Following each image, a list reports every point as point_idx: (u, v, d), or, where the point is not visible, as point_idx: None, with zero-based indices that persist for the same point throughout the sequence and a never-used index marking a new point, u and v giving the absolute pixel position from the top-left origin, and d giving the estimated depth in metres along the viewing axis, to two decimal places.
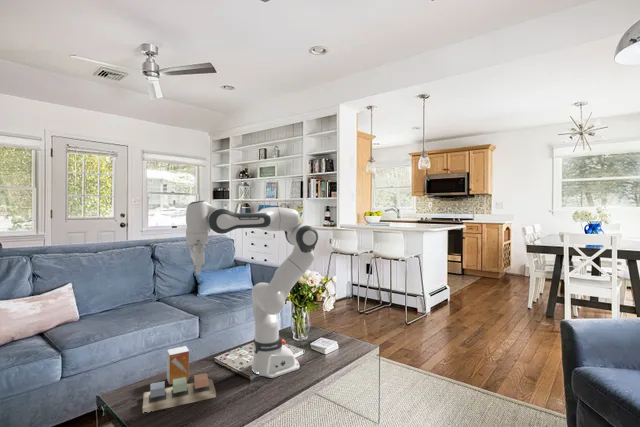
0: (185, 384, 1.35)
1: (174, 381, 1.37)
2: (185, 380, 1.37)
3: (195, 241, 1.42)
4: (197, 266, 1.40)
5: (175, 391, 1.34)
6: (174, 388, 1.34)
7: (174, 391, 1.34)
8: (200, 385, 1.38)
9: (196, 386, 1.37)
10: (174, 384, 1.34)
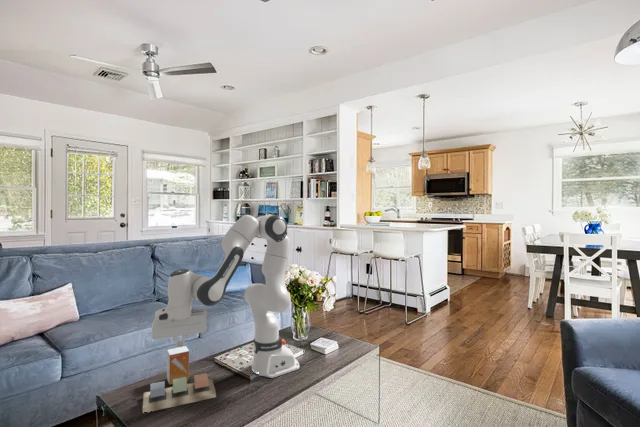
0: (185, 384, 1.35)
1: (174, 381, 1.37)
2: (185, 380, 1.37)
3: (191, 311, 1.37)
4: None
5: (175, 391, 1.34)
6: (174, 388, 1.34)
7: (174, 391, 1.34)
8: (200, 385, 1.38)
9: (196, 386, 1.37)
10: (174, 384, 1.34)
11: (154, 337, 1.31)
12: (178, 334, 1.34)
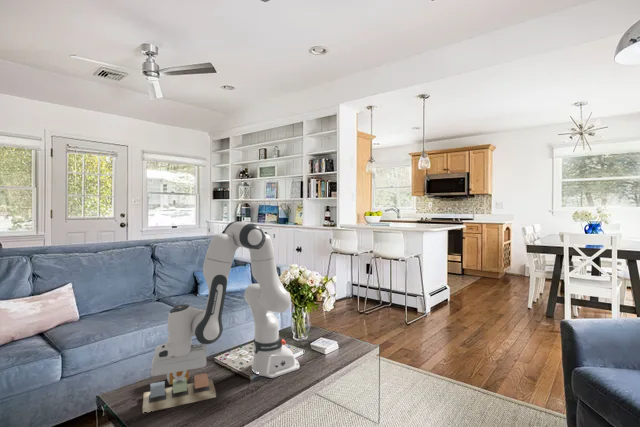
0: (185, 384, 1.35)
1: (174, 381, 1.37)
2: (185, 380, 1.37)
3: (191, 347, 1.37)
4: None
5: (175, 391, 1.34)
6: (174, 388, 1.34)
7: (174, 391, 1.34)
8: (200, 385, 1.38)
9: (196, 386, 1.37)
10: (174, 384, 1.34)
11: (154, 374, 1.31)
12: (178, 370, 1.35)
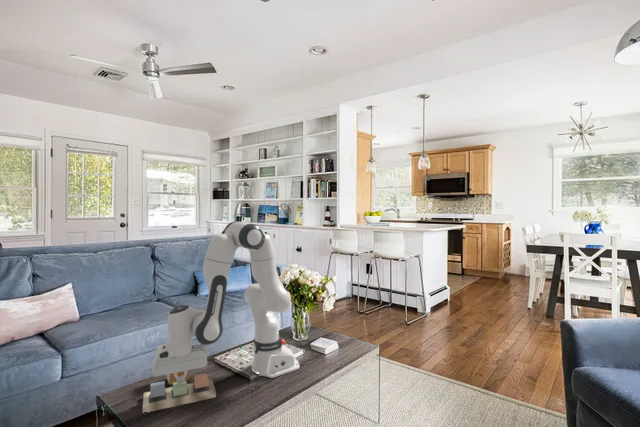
0: (185, 387, 1.35)
1: (174, 384, 1.37)
2: (185, 383, 1.37)
3: (191, 347, 1.37)
4: (187, 372, 1.38)
5: (175, 394, 1.34)
6: (174, 391, 1.34)
7: (174, 394, 1.34)
8: (200, 385, 1.38)
9: (196, 386, 1.37)
10: (174, 387, 1.34)
11: (155, 375, 1.32)
12: (179, 370, 1.35)
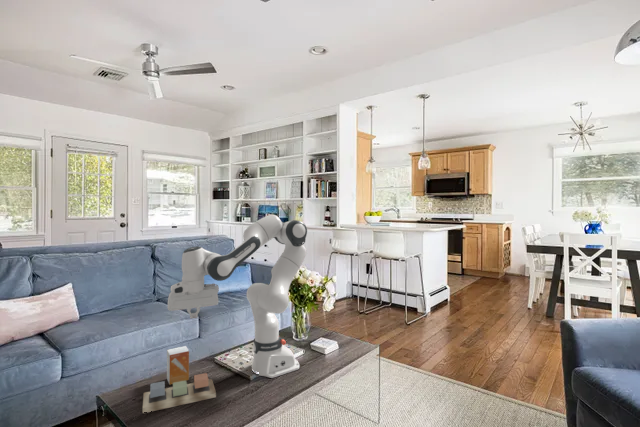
0: (185, 387, 1.35)
1: (174, 384, 1.37)
2: (185, 383, 1.37)
3: (204, 286, 1.47)
4: (199, 309, 1.47)
5: (175, 394, 1.34)
6: (174, 391, 1.34)
7: (174, 394, 1.34)
8: (200, 385, 1.38)
9: (196, 386, 1.37)
10: (174, 387, 1.34)
11: (170, 309, 1.41)
12: (192, 306, 1.44)
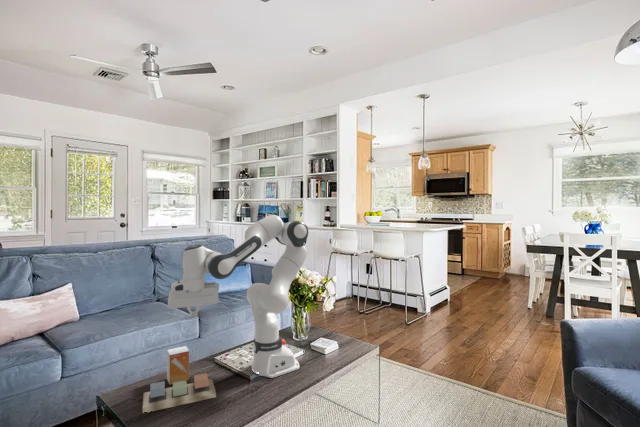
0: (185, 387, 1.35)
1: (174, 384, 1.37)
2: (185, 383, 1.37)
3: (204, 284, 1.47)
4: (199, 307, 1.47)
5: (175, 394, 1.34)
6: (174, 391, 1.34)
7: (174, 394, 1.34)
8: (200, 385, 1.38)
9: (196, 386, 1.37)
10: (174, 387, 1.34)
11: (170, 307, 1.41)
12: (192, 304, 1.45)
